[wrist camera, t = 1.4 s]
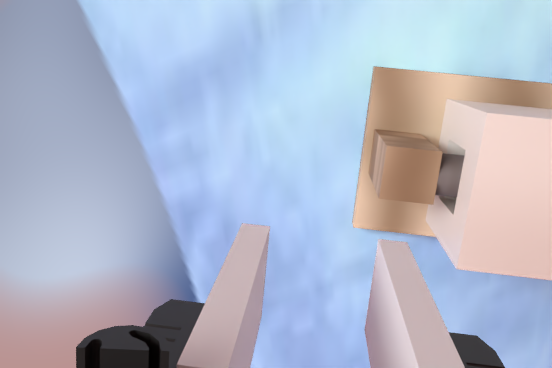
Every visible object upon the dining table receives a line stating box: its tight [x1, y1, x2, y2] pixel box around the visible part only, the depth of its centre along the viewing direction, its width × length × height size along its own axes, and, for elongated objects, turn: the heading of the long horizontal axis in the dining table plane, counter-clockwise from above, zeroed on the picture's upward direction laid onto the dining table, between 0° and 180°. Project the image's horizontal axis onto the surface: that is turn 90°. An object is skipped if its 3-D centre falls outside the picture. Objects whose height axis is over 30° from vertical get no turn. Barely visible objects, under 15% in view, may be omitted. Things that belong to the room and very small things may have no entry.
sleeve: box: [426, 99, 552, 280], centre depth 29 cm, size 7×8×8 cm
